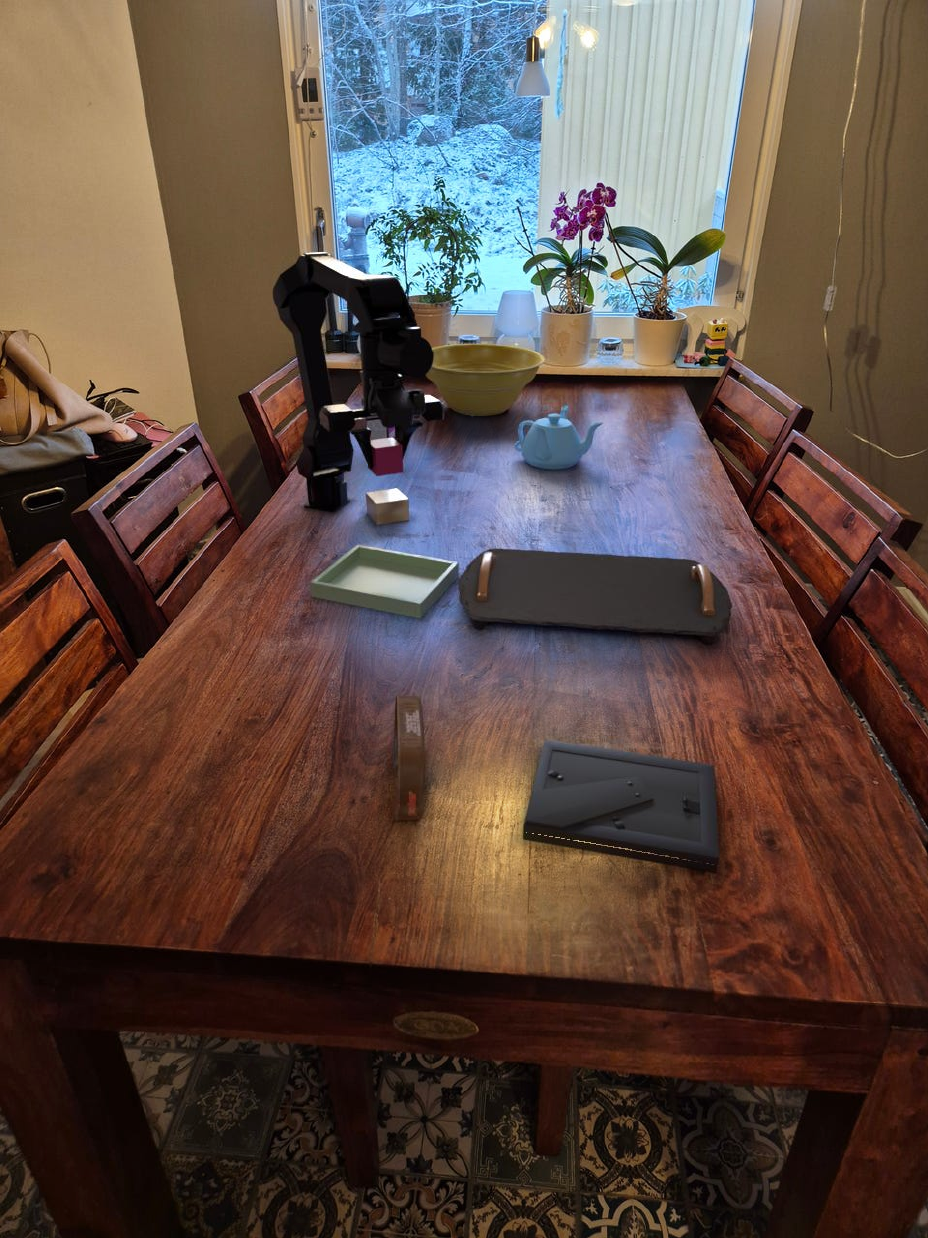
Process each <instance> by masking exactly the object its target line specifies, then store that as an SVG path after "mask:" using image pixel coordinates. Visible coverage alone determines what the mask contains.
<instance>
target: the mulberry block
mask: <svg viewBox="0 0 928 1238" xmlns="http://www.w3.org/2000/svg"><path fill="white" fill-rule="evenodd" d="M371 448H372V455H373V469H370V468H369V467H368V466H367V469H369V470H370V472H372V473H373V474H374V475H375V476H376V477H380V476H387V475H395V474H401V473H404V459H403V447H402V444H400V443H399V442H398V441H396V440H395V439H394V438H385V439H377V440H371Z"/></svg>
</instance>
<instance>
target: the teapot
mask: <svg viewBox="0 0 928 1238" xmlns="http://www.w3.org/2000/svg"><path fill="white" fill-rule="evenodd" d="M568 410H569V405H568V404H563V405H562V407H561V408H560V414H559V413H549V414H547V417H542V418H539V419H537V420H535V422H534V421H533V420H529V419H528V420H523V421H521V422H520V423H519V425H518V427H517V433H518V439H519V440H517V441H516V442H515V443H514V449H515V450H516V451H517V452H520V454H521V456H522V458H523V459H524V461H525V462H526V463H527V464H528V465H530V466H532V467H534V468H539V469H544V470H564V469H570V468H572V467H574V466H575V465H576V464H578V463H579V461H581V459H582V458H583V456H584V455H586V453H587V452H589V450H590V449H591V448H592V445H593V440H594V435H595V432H596V430H598V429H597V428H598V427H600V426H602V425H603V424H604V422H595V423H592V424H590V426H589V427H588V429H587V432H586V436H585V438H584V440H582V439H581V436H580V434H579V433H578V430H577V429H576V427H575V426H574V425H575V424H573V422H572V421H570V420H568ZM525 425H527V426H531V427H530V428H529V430H528V431H527V432H526V435H525V437H524V430H523V428H524V426H525ZM519 444H520V445H519Z"/></svg>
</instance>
